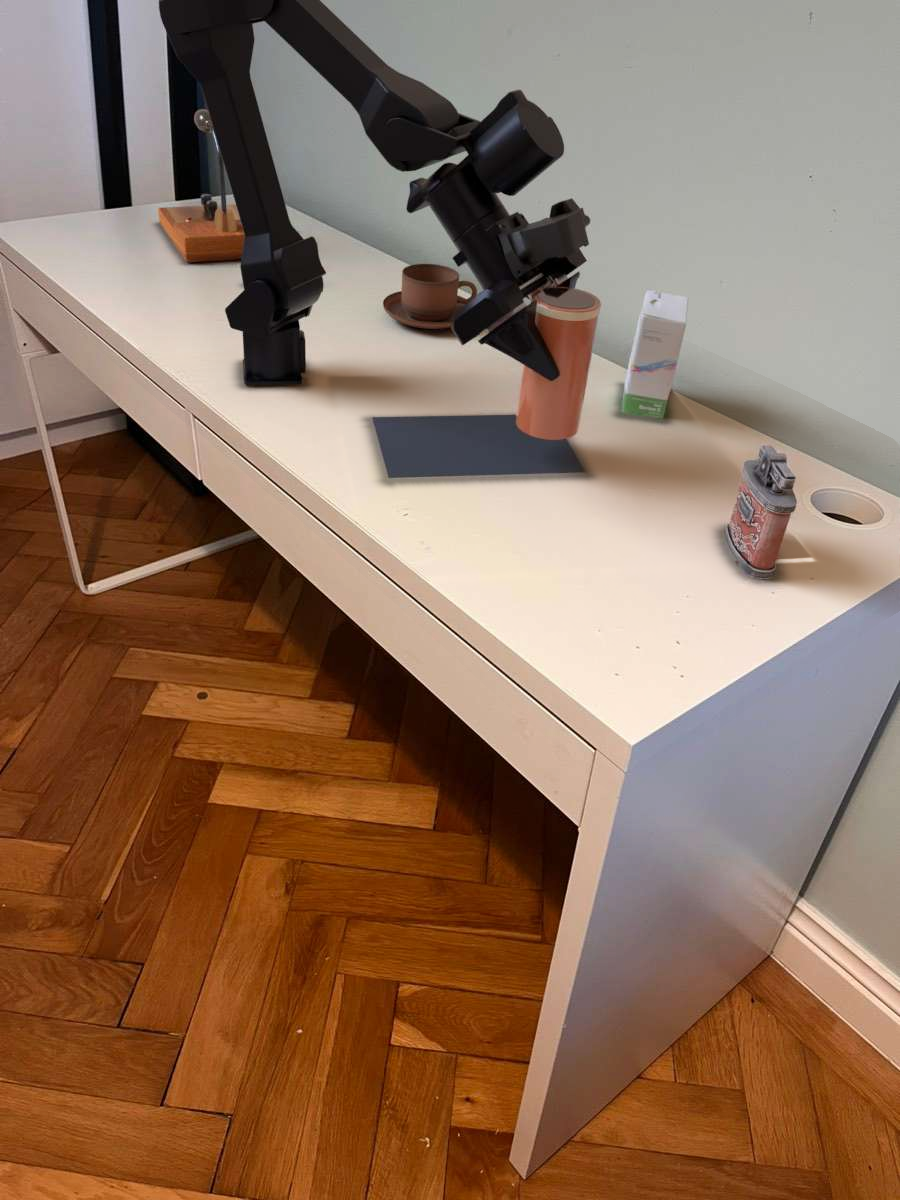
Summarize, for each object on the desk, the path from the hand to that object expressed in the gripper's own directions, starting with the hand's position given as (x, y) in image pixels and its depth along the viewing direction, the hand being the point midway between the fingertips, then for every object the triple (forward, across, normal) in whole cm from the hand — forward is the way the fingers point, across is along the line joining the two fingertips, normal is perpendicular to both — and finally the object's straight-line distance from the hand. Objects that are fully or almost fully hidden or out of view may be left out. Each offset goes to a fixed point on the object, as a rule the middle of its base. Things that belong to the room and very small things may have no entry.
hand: (569, 367), depth 95 cm
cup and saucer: (-13, +26, +29) cm, 41 cm away
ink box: (+10, +20, +6) cm, 23 cm away
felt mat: (+2, -2, +13) cm, 14 cm away
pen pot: (+4, 0, +6) cm, 7 cm away
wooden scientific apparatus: (-40, +31, +55) cm, 75 cm away
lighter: (+23, -5, -8) cm, 25 cm away
